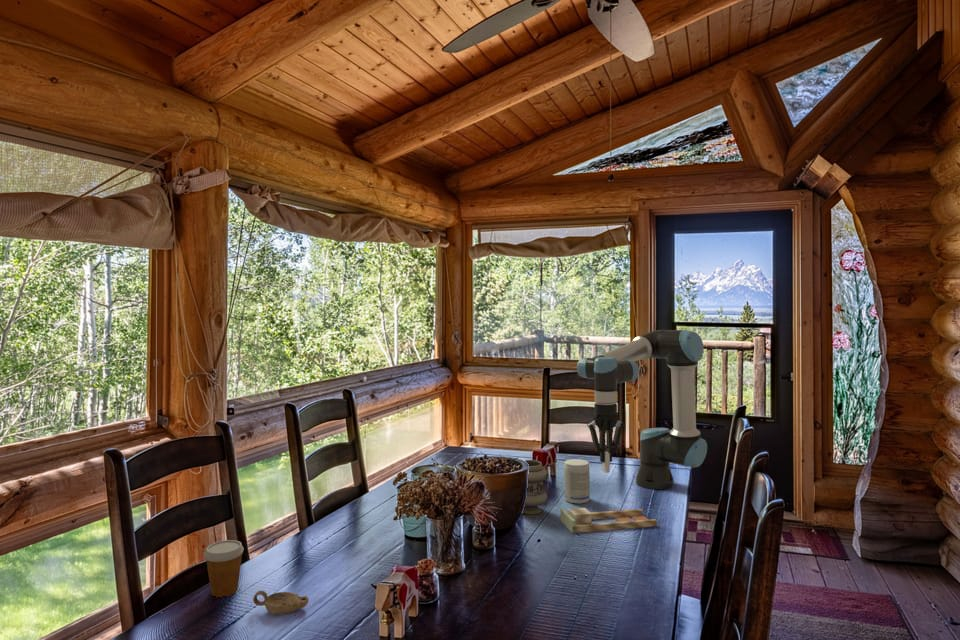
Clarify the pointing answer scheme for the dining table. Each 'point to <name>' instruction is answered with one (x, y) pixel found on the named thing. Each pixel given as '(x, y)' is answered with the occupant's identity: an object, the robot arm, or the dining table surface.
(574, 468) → the supplement tub
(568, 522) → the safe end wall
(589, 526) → the channel rails
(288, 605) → the oil lamp
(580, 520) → the birch block
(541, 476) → the apothecary jar
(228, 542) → the disposable coffee cup
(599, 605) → the dining table surface
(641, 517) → the trap pads
